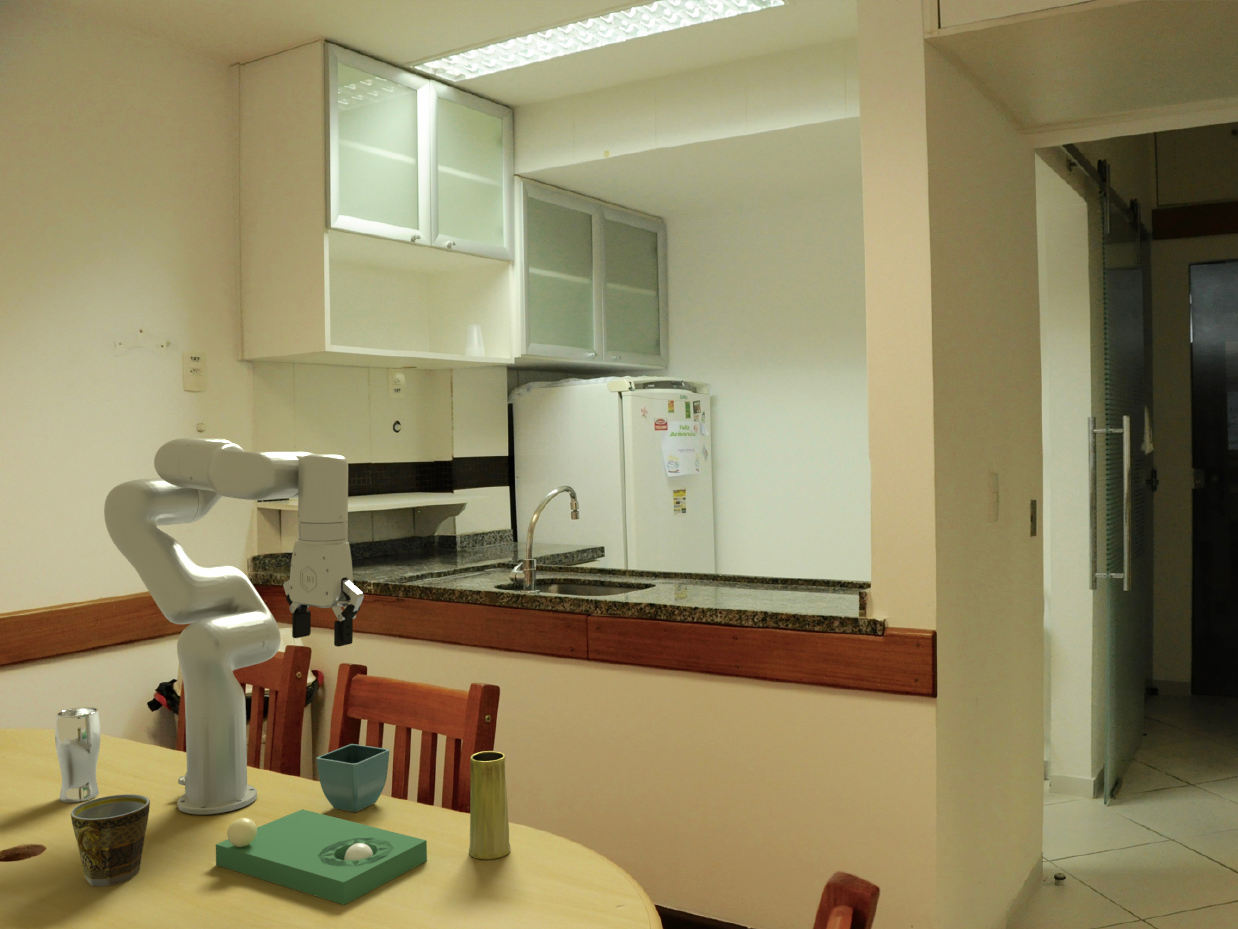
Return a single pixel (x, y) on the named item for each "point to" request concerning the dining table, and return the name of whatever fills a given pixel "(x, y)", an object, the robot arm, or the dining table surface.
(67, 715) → the beer glass
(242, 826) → the yellow ball
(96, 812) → the ceramic cup
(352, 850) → the white ball
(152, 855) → the dining table surface
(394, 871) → the putting mat
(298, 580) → the robot arm
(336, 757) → the flower pot
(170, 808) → the dining table surface
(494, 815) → the vase
